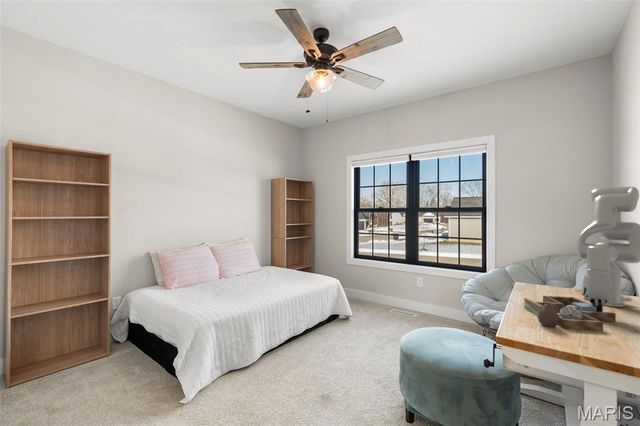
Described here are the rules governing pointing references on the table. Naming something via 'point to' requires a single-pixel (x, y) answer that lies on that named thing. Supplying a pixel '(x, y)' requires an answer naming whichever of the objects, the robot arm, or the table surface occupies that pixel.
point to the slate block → (585, 307)
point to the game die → (571, 312)
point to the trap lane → (589, 323)
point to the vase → (548, 316)
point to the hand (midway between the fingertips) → (597, 313)
